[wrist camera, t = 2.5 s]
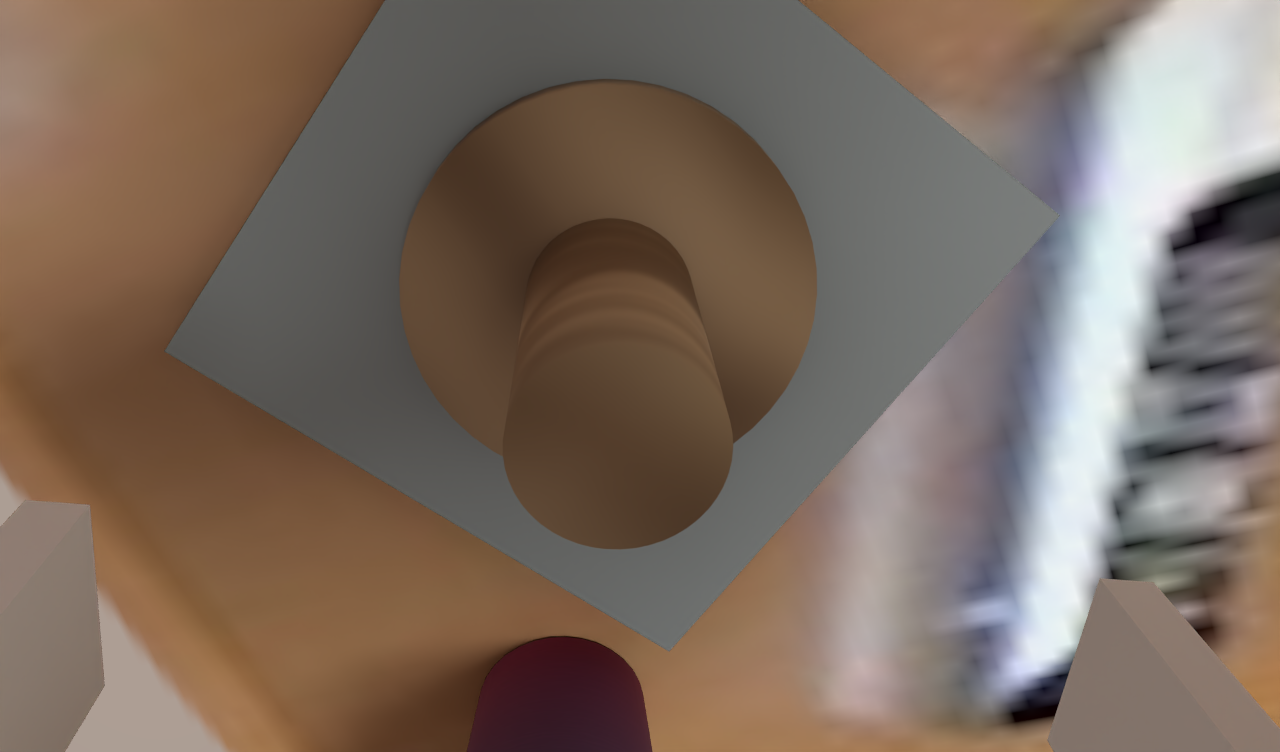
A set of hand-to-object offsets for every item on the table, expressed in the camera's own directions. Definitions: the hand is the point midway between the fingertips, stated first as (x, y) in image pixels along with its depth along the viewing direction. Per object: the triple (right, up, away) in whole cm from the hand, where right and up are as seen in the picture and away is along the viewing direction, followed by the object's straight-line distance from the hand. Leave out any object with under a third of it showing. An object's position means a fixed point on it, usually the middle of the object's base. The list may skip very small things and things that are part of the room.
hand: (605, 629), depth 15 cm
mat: (0, +6, +14) cm, 15 cm away
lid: (0, +6, +13) cm, 14 cm away
